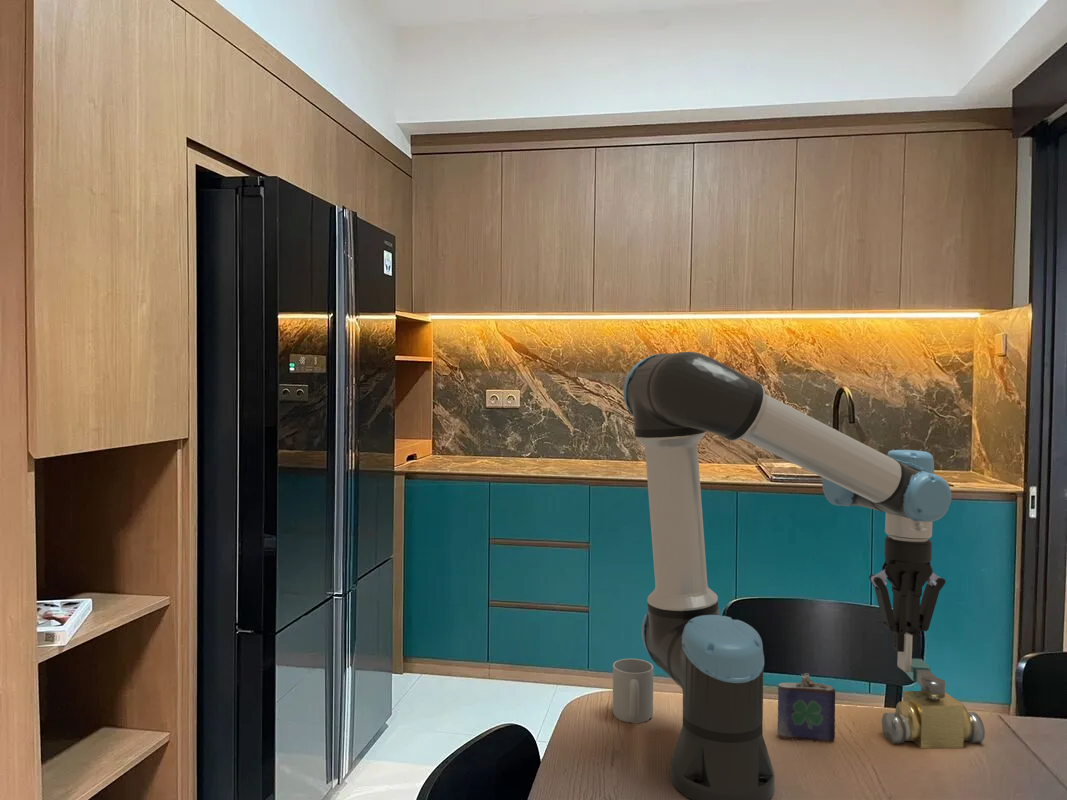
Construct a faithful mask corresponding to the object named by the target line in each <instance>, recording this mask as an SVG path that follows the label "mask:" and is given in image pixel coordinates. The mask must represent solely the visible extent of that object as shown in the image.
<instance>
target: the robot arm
mask: <svg viewBox="0 0 1067 800" xmlns="http://www.w3.org/2000/svg"><path fill="white" fill-rule="evenodd" d="M622 388H623V391H622V393H623V395H622V396H623V400H624V404H625V406H626V408H627V411H629V413H630V414H631V416H632V417H633V426H634V427H633V428H634V438H635V439H636V440H637V441H638V442H639V443H640V444H641V445H642V446H643V447H644V452H645V453H644V454H645V465H646V477H647V478H646V479H647V492H648V507H649V520H650V531H651V545H652V558H653V572H654V584H655V587H654V590H653V591H652V592H651V593H649V595H648V596H647V599H646V600H647V612H646V613H645V615H644V617H643V619H642V622H641V630H640V631H641V632H640V633H641V639H642V643H643V646H644V648H645V650H646V652H647V654H648V656H649V657H650V659H651V660H652V661H653V663H654V664H655V665H656V666H657V667H659V668H660V669H661V670H662V671H663V672H664V673H665V674H667V676H668V677H669V678H671V680H673V682H675V683H676V684H677V686H678V687H680V688H681V689H682V727H681V729H680V733H679V735H678V736H679V737H678V739H677V742H676V745H675V748H674V750H673V754H672V757H671V759H670V782H671V783H672V786H674V788H675V789H676V790H677V791H678V792H679V793H681V795H683V796H685V797H687V798H689V799H690V800H770V799H772V798H773V796H774V793H775V786H776V785H775V782H776V781H775V779H776V778H775V771H774V766H773V765H772V761H771V757H770V754H769V752H768V748H767V746H766V742H765V738H764V735H763V726H764V725H763V721H764V720H763V717H764V716H763V714H764V711H763V710H764V667H765V655H764V650H763V649H764V648H763V641H762V638H761V636H760V634H759V632H758V631H757V630H756V629H755V628H754V627H753V626H752V625H750V624H748V623H746V622H745V621H742V620H740V619H732V617H731V616H726V615H720V609H719V608H720V606H719V597H718V595H717V593H716V592H714V591H713V590H712V589H711V588H709V585H708V575H707V559H706V548H705V547H706V544H705V534H704V533H705V531H704V519H703V506H702V505H703V504H702V489H701V488H702V487H701V475H700V463H699V450H698V449H699V448H698V444H699V443H700V441H701V440H702V439H703V438H704V437H705V435H706V434H707V432H709V433H712V434H715V435H719V436H720V437H722V438H725V439H726V440H728V441H732V442H736V441H739V440H741V439H742V440H744V441H746V442H748V443H750V444H752V445H753V446H757V447H758V448H760V449H763V450H764V451H766V452H768V453H771V454H773V455H775V456H777V457H779V458H781V459H784V460H786V461H787V462H790V463H792V464H794V465H796V466H798V467H800V468H802V469H804V470H806V471H808V472H810V473H812V474H814V475H816V476H819V477H820V478H821V479H822V484H821V485H822V491H823V493H824V497H825V498H826V500H827V502H829V503H830V504H831V505H833V506H841V507H842V506H843V507H844V506H845V507H846V508H847V507H853V506H855V507H856V506H857V507H862V508H866V509H872V510H874V511H877V512H883V513H885V521H884V522H885V523H884V524H885V525H884V526H885V527H884V533H885V534H886V535H887V536H886V537H885V538H884V553H883V554H884V563H883V565H882V567H881V571H879V572H878V573H876V574H870V575H869V576H868V579H869V581H870V583H871V584H872V586H873V588H874V591H875V595H876V596H875V597H876V599H877V603H878V608H879V613H880V617H881V622H882V624H883V626H884V627H885V628H887V629H888V630H889V631H891V632H893V644H892V646H893V649H894V650H895V651H897V659H896V660H897V661H896V662H897V663H896V664H897V665H896V666H897V668H899V669H900V670H902V671H903V672H904V673H905V672H911V665H912V659H913V657H912V656H913V652H914V653H916V651H917V647H918V646H917V645H918V644H917V642H918V637H919V636H921V635H922V632H927V631H929V629H930V626H931V622H932V618H933V616H934V615H933V614H934V612H935V608H936V604H937V600H938V598H939V595H940V592H941V591H942V588H943V587H944V586H945V585H946V579H945V578H943V577H940V576H938V575H937V574H935V572H933V571H934V570H933V566H932V564H931V561H932V557H933V556H932V555H933V554H932V552H933V551H932V550H933V543H932V541H931V540H930V538H933V537H932V536H933V522H935V521H938V520H941V518H943V517H945V515H946V513H948V511H949V508H950V507H951V506H950V505H951V503H952V499H953V498H952V490H951V487H950V484H948V482H947V481H946V480H945V479H944V478H943V477H942V476H940V475H938V474H935V460H934V456H933V455H932V454H931V452H927V451H925V450H913V449H892V450H889V451H888V452H887V454H884V453H882V452H880V451H878V450H876V449H874V448H872V447H871V446H868V445H867V444H864V443H862V442H861V441H859V440H856V438H853V437H851V436H850V435H847V434H845V433H843V432H841V431H839V430H837V429H835V428H834V427H831V426H829V425H828V424H825V423H823V422H821V421H820V420H818V419H816V418H814V417H812V416H809V415H808V414H805V413H804V412H802V411H800V410H798V409H796V408H794V407H792V406H790V405H788V404H786V403H784V402H783V401H780V400H778V399H776V398H774V397H772V396H770V395H769V394H766V390H765V388H764V385H763V384H761V383H760V382H758V381H757V380H754V379H753V378H750V377H748V376H747V375H745V374H743V373H741V372H739V371H737V369H736V370H735V369H733V368H732V367H730V366H728V365H726V364H724V363H722V362H721V361H718V360H717V359H715V358H713V357H711V356H709V355H705V354H702V353H701V352H695V351H680V352H675V353H662V352H661V353H657V354H652V355H651V356H647V357H646V358H643V359H641V360H639V362H637V363H636V364H635V365H633V367H632V368H631V369H630V370H629V372H628V373H627V375H626V378H625V380H624V384H623V387H622ZM887 580H888V581H887ZM888 582H889V583H890V584H891V592H892V604H891V599H890V594H889V590H888V588H887V584H888ZM925 584H926V585H925ZM924 586H925V587H924ZM923 587H924V590H923Z"/></svg>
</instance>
